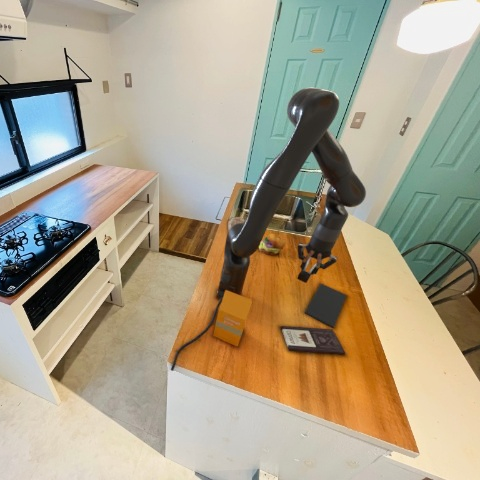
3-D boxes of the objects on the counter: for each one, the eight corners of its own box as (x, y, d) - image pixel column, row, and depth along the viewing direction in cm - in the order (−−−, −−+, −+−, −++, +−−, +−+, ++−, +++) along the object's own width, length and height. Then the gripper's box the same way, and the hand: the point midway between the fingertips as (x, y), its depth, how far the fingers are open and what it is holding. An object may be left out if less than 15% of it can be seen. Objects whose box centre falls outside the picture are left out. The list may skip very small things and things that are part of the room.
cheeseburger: (255, 243, 135) (264, 228, 129) (273, 247, 136) (283, 233, 131) (260, 255, 127) (270, 239, 121) (280, 259, 128) (290, 244, 122)
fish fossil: (248, 243, 135) (248, 241, 135) (228, 241, 137) (228, 240, 137) (245, 218, 156) (245, 216, 155) (227, 217, 158) (228, 215, 157)
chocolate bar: (345, 352, 84) (289, 348, 85) (344, 354, 84) (289, 350, 85) (332, 329, 91) (281, 325, 92) (331, 331, 92) (280, 327, 93)
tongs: (308, 284, 94) (311, 278, 92) (294, 277, 97) (297, 271, 95) (320, 263, 104) (323, 257, 102) (307, 258, 107) (310, 252, 105)
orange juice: (237, 347, 86) (250, 308, 75) (212, 335, 90) (221, 297, 78) (243, 329, 92) (255, 291, 80) (219, 319, 95) (228, 281, 84)
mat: (333, 328, 93) (333, 327, 93) (304, 313, 98) (305, 312, 98) (346, 296, 106) (346, 295, 105) (320, 284, 111) (320, 283, 111)
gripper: (301, 231, 91) (286, 267, 101) (345, 248, 83) (324, 285, 94) (307, 223, 96) (292, 258, 106) (350, 238, 88) (329, 274, 98)
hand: (307, 271), depth 100 cm, fingers closed on tongs, 3 cm apart
